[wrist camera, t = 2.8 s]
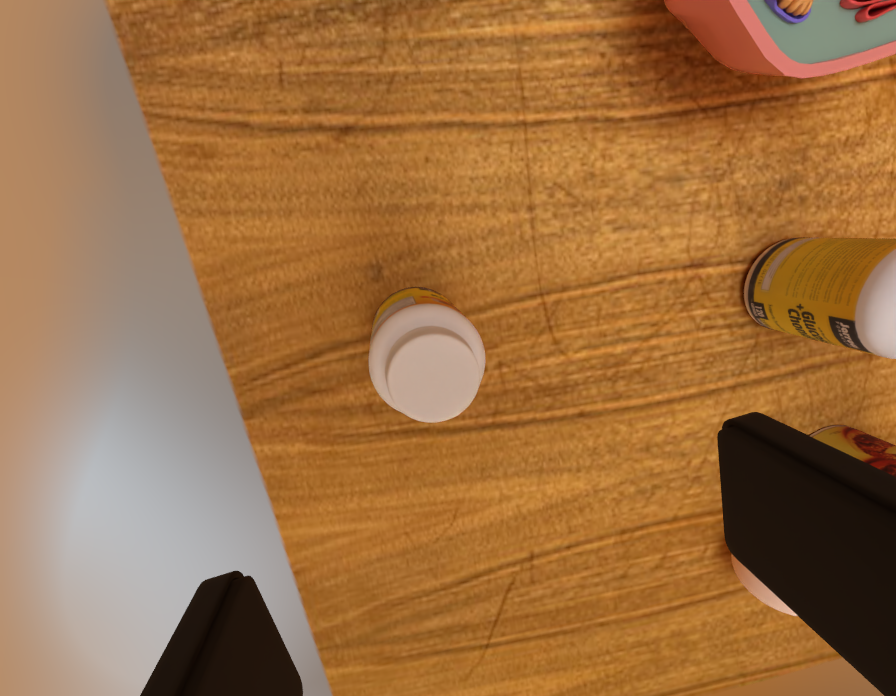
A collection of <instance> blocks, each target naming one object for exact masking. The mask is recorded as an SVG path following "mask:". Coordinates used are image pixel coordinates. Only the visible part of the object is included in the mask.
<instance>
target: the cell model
mask: <svg viewBox="0 0 896 696" xmlns="http://www.w3.org/2000/svg"><path fill="white" fill-rule="evenodd" d="M664 3H665V6H666V7H667V9H668V10H669V11H670V12H671V14H672V15H673V16H675V17H676V18H677V19H678V20H679V21H680V22H682V24H683V25H684V26H685V27H686V28H687V29H688V30H689V31H690V32H691V33H692V34H693V35H694V36H695V38H696V39H697V40H698V41H699V42H700V43H701V44H702V45H703V47H704V48H705V49H706V50H707V51H708V53H709V54H710V55H711V56H712V57H713V58H714V59H715V60H717V61H718V62H719V63H721V64H722V65H724V66H726V67H728V68H730V69H732V70H735V71H738V72H742V73H748V74H758V75H769V76H786V77H795V78H809V77H816V76H823V75H828V74H832V73H836V72H840V71H844V70H848V69H851V68H854V67H857V66H860V65H863V64H867V63H870V62H873V61H876V60H879V59H882V58H885V57H888V56H891V55H894V54H896V0H664Z"/></svg>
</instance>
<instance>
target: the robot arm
mask: <svg viewBox="0 0 896 696" xmlns="http://www.w3.org/2000/svg"><path fill="white" fill-rule="evenodd" d="M718 452H719V466H720V479H721V493H722V507H723V520H724V534H725V541H726V544H727V546H728V548H729V550H730V552H731V553H732V554H733V556H734V557H735V558H736V559H737V560H738V561H739V562H740V563H741V564H742V565H743V566H745V567H746V568H747V569H748V570H749V571H750V572H751V573H752V574H753V575H754V576H755V577H756V578H758V579H759V580H760V581H761V582H762V583H763V584H764V585H765V586H766V587H767V588H768V589H769V590H771V591H772V592H773V593H774V594H775V595H776V596H777V597H778V598H779V599H780V600H781V601H782V602H784V603H785V604H786V605H787V606H788V607H789V608H790V609H791V610H792V611H793V612H794V613H795V614H797V615H798V616H799V617H800V618H801V619H802V620H803V621H804V622H805V623H806V624H807V625H808V626H810V627H811V628H812V629H813V630H814V631H815V632H816V633H817V634H818V635H819V636H820V637H822V638H823V639H824V640H825V641H826V642H827V643H828V644H829V645H830V646H831V647H832V648H833V649H835V650H836V651H837V652H838V653H839V654H840V655H841V656H842V657H843V658H844V659H845V660H846V661H848V662H849V663H850V664H851V665H852V666H853V667H854V668H855V669H856V670H857V671H858V672H859V673H861V674H862V675H863V676H864V677H865V678H866V679H867V680H868V681H869V682H870V683H871V684H872V685H874V686H875V687H876V688H877V689H878V690H879V691H880V692H881V693H882V694H883V695H884V696H896V477H895V476H893V475H891V474H889V473H887V472H885V471H883V470H880V469H878V468H876V467H874V466H872V465H870V464H868V463H866V462H863V461H861V460H859V459H857V458H855V457H853V456H851V455H849V454H846V453H844V452H842V451H840V450H838V449H836V448H834V447H832V446H830V445H827V444H825V443H823V442H821V441H819V440H817V439H815V438H813V437H810V436H808V435H806V434H804V433H802V432H800V431H798V430H796V429H793V428H791V427H789V426H787V425H785V424H783V423H781V422H779V421H777V420H774V419H772V418H770V417H768V416H766V415H764V414H761V413H758V412H752V413H748V414H745V415H742V416H739V417H735V418H732V419H729V420H727V421H725V422H724V424H723V426H722V430H720V431H719V433H718ZM140 696H303V689H302V682H301V679H300V676H299V674H298V672H297V670H296V667H295V665H294V663H293V661H292V659H291V657H290V655H289V653H288V651H287V649H286V647H285V644H284V642H283V640H282V638H281V636H280V634H279V632H278V630H277V627H276V625H275V623H274V622H273V619H272V617H271V615H270V613H269V610H268V608H267V606H266V604H265V602H264V600H263V598H262V596H261V594H260V591H259V590H258V587H257V585H256V583H255V581H254V579H253V578H252V577H251V576H245V577H244V576H243V574H242V573H241V572H239V571H233V572H230V573H226V574H223V575H220V576H217V577H213V578H210V579H207V580H205V581H203V582H202V583H201V584H200V586H199V587H198V589H197V591H196V593H195V595H194V597H193V598H192V600H191V602H190V604H189V606H188V608H187V609H186V611H185V613H184V615H183V617H182V619H181V621H180V623H179V624H178V626H177V628H176V630H175V632H174V634H173V635H172V637H171V639H170V641H169V643H168V645H167V647H166V649H165V650H164V652H163V654H162V656H161V658H160V660H159V662H158V663H157V665H156V667H155V669H154V671H153V673H152V675H151V676H150V679H149V680H148V682H147V684H146V686H145V688H144V690H143V691H142V693H141V695H140Z"/></svg>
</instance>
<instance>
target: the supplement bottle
mask: <svg viewBox="0 0 896 696" xmlns="http://www.w3.org/2000/svg"><path fill="white" fill-rule="evenodd" d="M368 363H369V372H370V377H371V380H372V383H373V385H374V387H375V389H376V391H377V392H378V394H379V395H380V396H381V398H382V399H383V400H384V401H385V402H386V403H387V404H388V405H390V406H391V407H392V408H394V409H395V410H397V411H399V412H401V413H404V414H405V415H407V416H408V417H410V418H412V419H415V420H418V421H422V422H430V423H431V422H441V421H446V420H449V419H451V418H453V417H455V416H457V415H459V414H460V413H461V412H463V411H464V410H465V409H466V408H467V407H468V406H469V405H470V404H471V402H472V401H473V399H474V397H475V395H476V393H477V391H478V388H479V385H480V382H481V380H482V377H483V374H484V369H485V350H484V346H483V342H482V340H481V337H480V335H479V333H478V332H477V330H476V328H475V327H474V325H473V324H472V323H471V322H470V321H469V320H468V319H467V318H466V317H465V316H464V315H463V314H462V313H461V312H460V311H459V310H458V309H457V308H456V307H455V306H454V305H453V304H452V303H451V302H450V301H449V300H447V299H446V298H445V297H444V296H442V295H441V294H439V293H438V292H436V291H433V290H431V289H427V288H423V287H411V288H405V289H402V290H399V291H397V292H395V293H393V294H392V295H390V296H389V297H388V298H387V299H386V300H385V301H384V302H383V303H382V304H381V305H380V307H379V309H378V310H377V312H376V314H375V317H374V321H373V326H372V333H371V341H370V349H369V359H368Z"/></svg>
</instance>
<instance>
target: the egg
mask: <svg viewBox="0 0 896 696" xmlns="http://www.w3.org/2000/svg"><path fill="white" fill-rule="evenodd" d="M731 558H732V564H733V568H734V570H735V573H736V575H737V576H738V578H739V580H740V581H741V583H742V584H743V585H744V586H745V587H746V588H747V589H748V590H749V591H750V592H751V593H752V594H753V595H754V596H755V597H756V598H758V599H759V600H760V601H762V602H763V603H765V604H766V605H768V606H770V607H772V608H774V609H776V610H779V611H781V612H784V613H787V614H790V615H793V616H798V615H797V614H795V613H794V612H793V611H792V610H791V609H790V608H789V607H788V606H787V605H786V604H785V603H784V602H782V601H781V600H780V599H779V598H778V597H777V596H776V595H775V594H774V593H773V592H772V591H771V590H769V589H768V588H767V587H766V586H765V585H764V584H763V583H762V582H761V581H760V580H759V579H758V578H756V577H755V576H754V575H753V574H752V573H751V572H750V571H749V570H748V569H747V568H746V567H745V566H743V565H742V564H741V563H740V562H739V561H738V560H737V559H736V558H735V557H734V556H733V554H732V553H731Z"/></svg>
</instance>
